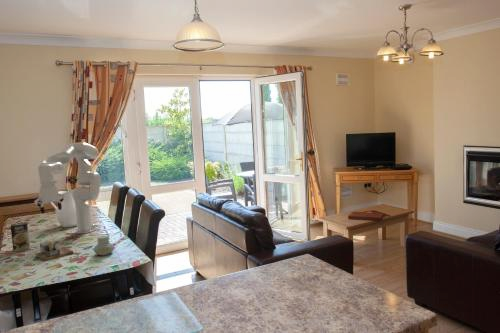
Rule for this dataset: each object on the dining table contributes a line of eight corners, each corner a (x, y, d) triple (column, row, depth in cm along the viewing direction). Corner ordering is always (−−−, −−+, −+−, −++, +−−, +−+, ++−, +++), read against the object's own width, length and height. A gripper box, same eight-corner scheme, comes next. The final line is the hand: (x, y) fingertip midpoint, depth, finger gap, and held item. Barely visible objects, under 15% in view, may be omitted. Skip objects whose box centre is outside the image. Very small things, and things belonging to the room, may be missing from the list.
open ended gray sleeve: (60, 253, 223) (59, 245, 223) (48, 256, 219) (46, 248, 218) (52, 249, 233) (51, 240, 233) (40, 251, 229) (39, 243, 228)
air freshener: (93, 257, 218) (91, 240, 217) (95, 252, 226) (93, 236, 225) (114, 254, 221) (112, 237, 220) (114, 250, 229) (113, 233, 228)
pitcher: (86, 222, 304) (82, 187, 301) (74, 228, 287) (70, 191, 284) (57, 223, 306) (53, 188, 303) (44, 229, 289) (40, 192, 286)
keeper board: (64, 248, 237) (63, 235, 236) (73, 253, 227) (71, 239, 226) (36, 256, 226) (34, 241, 226) (43, 261, 216) (41, 246, 215)
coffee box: (13, 252, 237) (9, 226, 235) (13, 249, 243) (10, 224, 241) (30, 249, 241) (27, 223, 239) (30, 246, 247) (27, 221, 245)
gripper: (60, 181, 246) (64, 207, 249) (30, 186, 235) (34, 213, 237) (64, 182, 241) (68, 209, 244) (34, 187, 229) (38, 215, 232)
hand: (51, 211), depth 240 cm, fingers open, 9 cm apart
